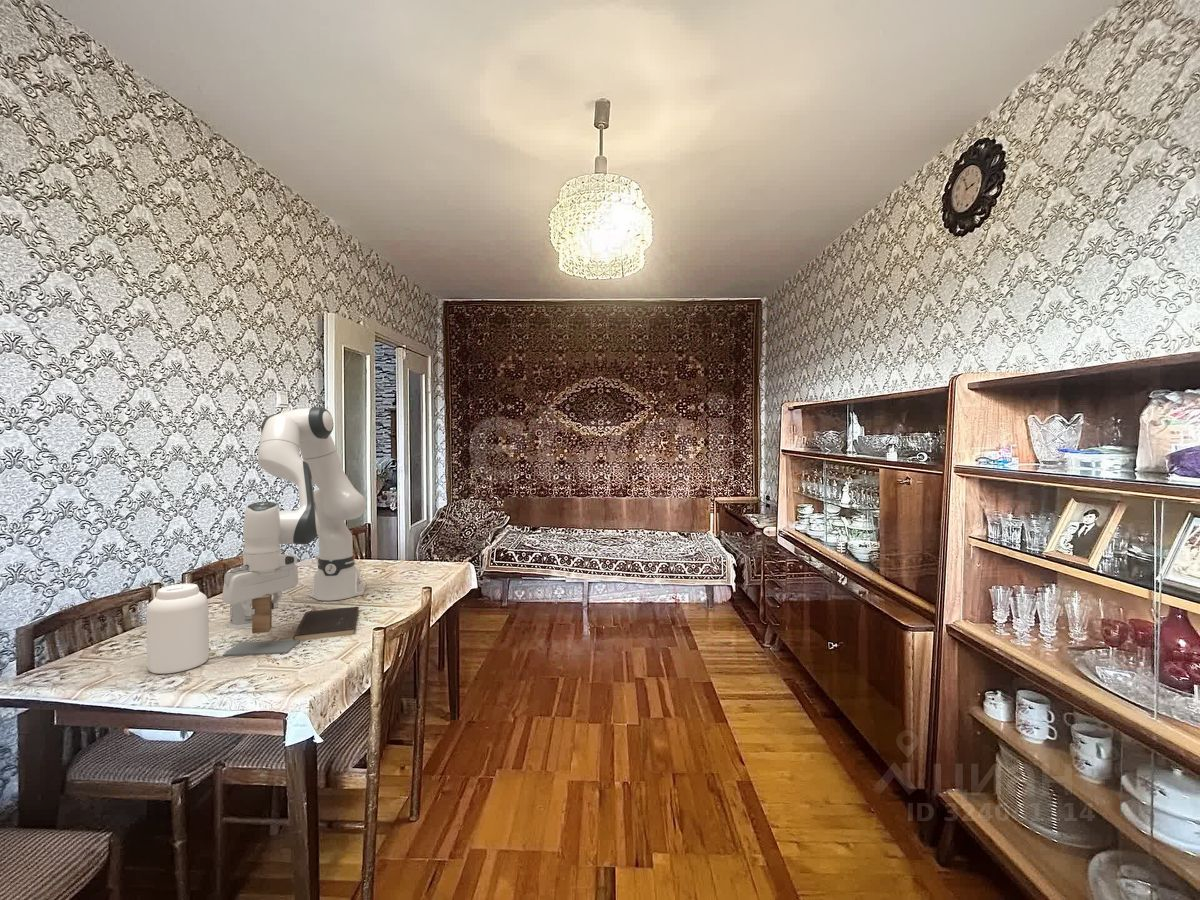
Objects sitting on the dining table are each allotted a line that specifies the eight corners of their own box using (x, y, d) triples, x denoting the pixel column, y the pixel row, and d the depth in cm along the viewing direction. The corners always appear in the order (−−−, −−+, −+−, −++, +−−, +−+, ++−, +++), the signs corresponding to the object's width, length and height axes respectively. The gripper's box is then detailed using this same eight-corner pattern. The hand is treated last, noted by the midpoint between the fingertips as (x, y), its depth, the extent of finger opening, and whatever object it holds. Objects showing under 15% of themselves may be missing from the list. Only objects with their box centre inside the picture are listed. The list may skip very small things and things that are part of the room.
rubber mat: (239, 643, 157) (239, 642, 157) (300, 641, 159) (300, 639, 159) (222, 656, 148) (222, 654, 148) (287, 653, 150) (287, 651, 150)
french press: (218, 628, 169) (217, 546, 169) (242, 616, 181) (241, 539, 180) (252, 628, 170) (251, 545, 169) (273, 616, 181) (272, 538, 181)
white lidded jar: (137, 677, 135) (135, 595, 134) (161, 658, 147) (160, 582, 146) (197, 671, 138) (196, 591, 138) (216, 653, 150) (215, 578, 150)
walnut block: (255, 629, 155) (255, 593, 155) (271, 627, 157) (271, 591, 156) (252, 633, 151) (252, 596, 151) (269, 631, 153) (269, 595, 153)
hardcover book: (358, 613, 186) (358, 606, 186) (354, 636, 164) (354, 628, 164) (304, 618, 180) (304, 611, 180) (293, 643, 159) (292, 635, 159)
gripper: (233, 570, 143) (233, 624, 143) (302, 555, 162) (301, 603, 162) (216, 568, 145) (216, 621, 145) (286, 554, 164) (286, 601, 164)
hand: (262, 612), depth 154 cm, fingers closed on walnut block, 6 cm apart
